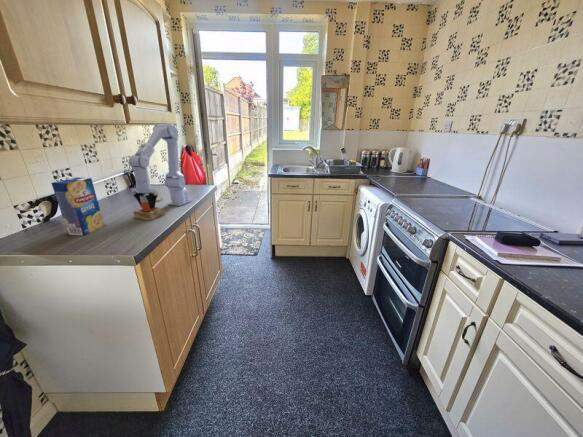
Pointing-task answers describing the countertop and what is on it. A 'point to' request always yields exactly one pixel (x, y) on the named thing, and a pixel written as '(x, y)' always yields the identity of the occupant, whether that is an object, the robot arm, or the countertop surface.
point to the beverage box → (78, 205)
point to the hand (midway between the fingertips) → (148, 207)
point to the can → (145, 203)
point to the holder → (148, 214)
